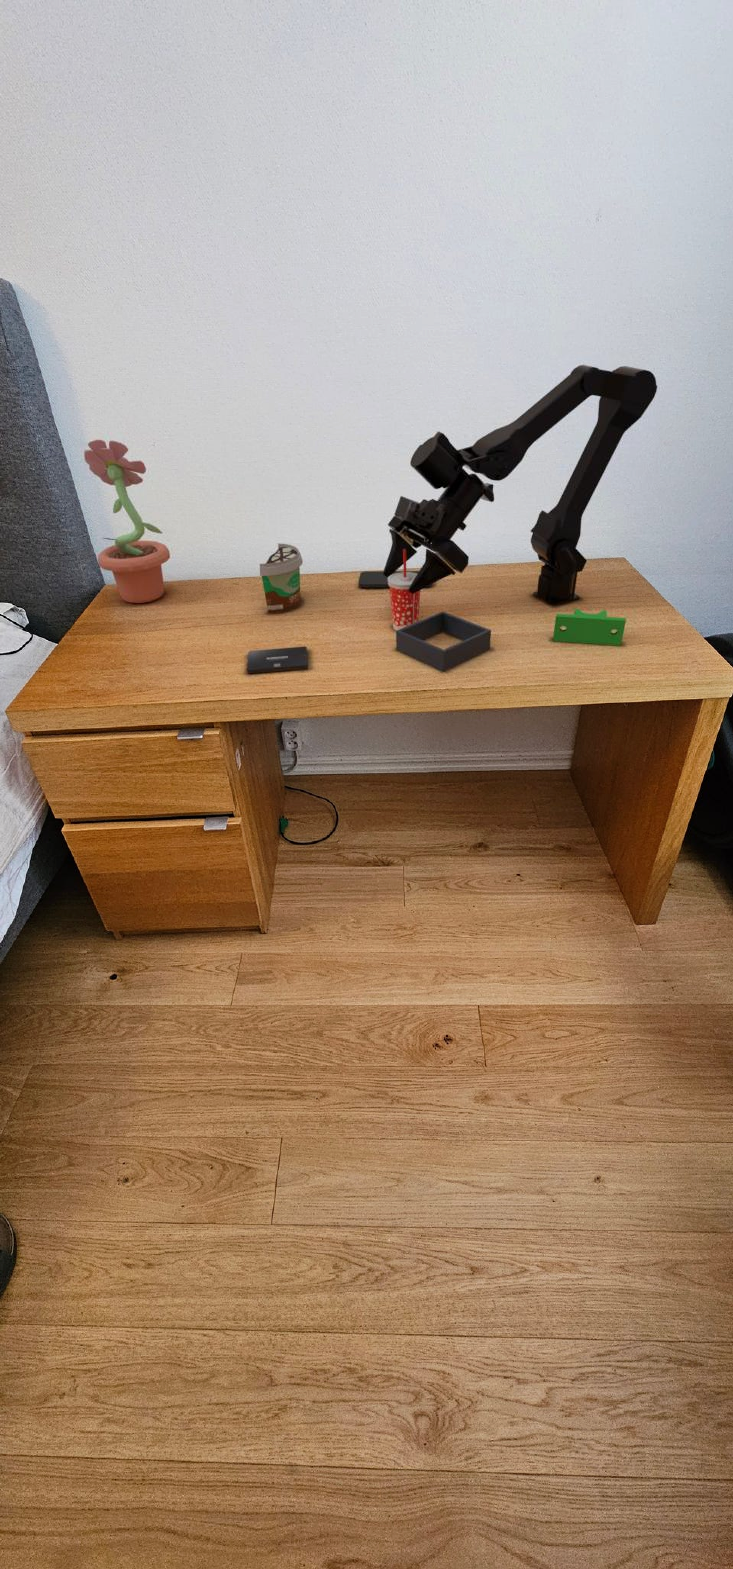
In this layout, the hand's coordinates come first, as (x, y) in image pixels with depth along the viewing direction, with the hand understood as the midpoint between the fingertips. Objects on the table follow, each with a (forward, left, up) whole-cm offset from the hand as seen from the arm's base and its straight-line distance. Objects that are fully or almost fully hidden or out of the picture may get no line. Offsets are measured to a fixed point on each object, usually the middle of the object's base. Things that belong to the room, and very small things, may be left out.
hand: (397, 583), depth 121 cm
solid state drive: (+24, +1, -8) cm, 25 cm away
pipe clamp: (-25, +21, -8) cm, 34 cm away
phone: (-10, -20, -8) cm, 24 cm away
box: (-2, +11, -8) cm, 14 cm away
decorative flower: (+37, -41, -8) cm, 56 cm away
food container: (+13, -21, -8) cm, 26 cm away
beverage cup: (-2, 0, -8) cm, 9 cm away
